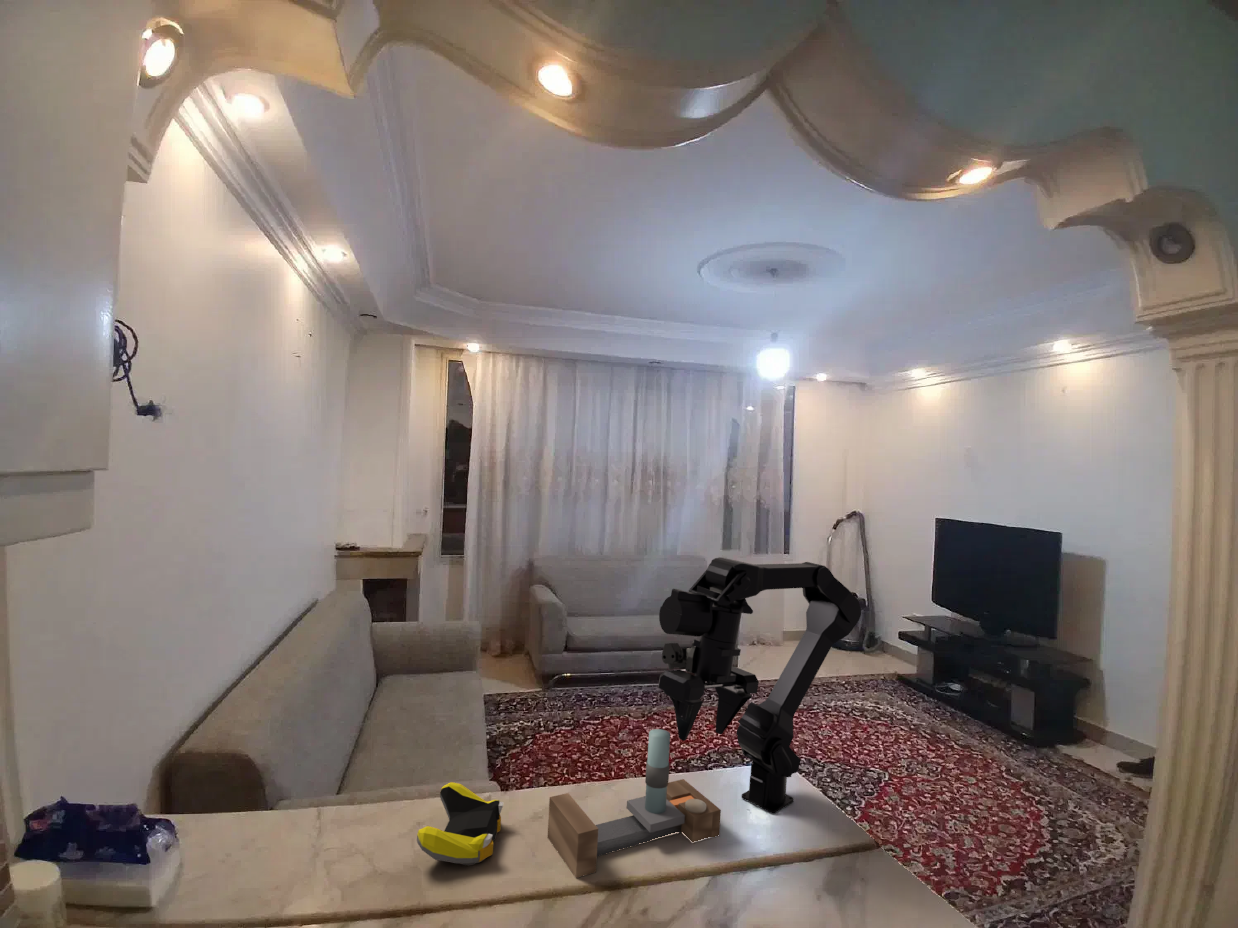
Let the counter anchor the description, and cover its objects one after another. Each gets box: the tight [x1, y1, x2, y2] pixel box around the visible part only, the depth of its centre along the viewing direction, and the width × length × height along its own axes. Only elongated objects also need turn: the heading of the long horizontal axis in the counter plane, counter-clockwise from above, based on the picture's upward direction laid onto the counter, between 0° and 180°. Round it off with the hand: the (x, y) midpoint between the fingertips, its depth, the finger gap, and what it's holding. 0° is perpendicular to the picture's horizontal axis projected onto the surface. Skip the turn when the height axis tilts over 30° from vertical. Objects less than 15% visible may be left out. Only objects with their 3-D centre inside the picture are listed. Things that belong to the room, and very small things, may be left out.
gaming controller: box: [416, 781, 504, 866], centre depth 93 cm, size 15×6×10 cm
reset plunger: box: [669, 796, 694, 809], centre depth 100 cm, size 4×1×1 cm, turn 119°
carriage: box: [626, 728, 685, 833], centre depth 98 cm, size 6×7×13 cm
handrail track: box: [595, 814, 681, 857], centre depth 96 cm, size 22×4×2 cm, turn 119°
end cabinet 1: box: [547, 792, 598, 879], centre depth 91 cm, size 3×10×6 cm, turn 29°
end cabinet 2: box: [667, 778, 722, 842], centre depth 101 cm, size 5×10×4 cm, turn 29°
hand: (700, 736), depth 102 cm, fingers open, 9 cm apart
